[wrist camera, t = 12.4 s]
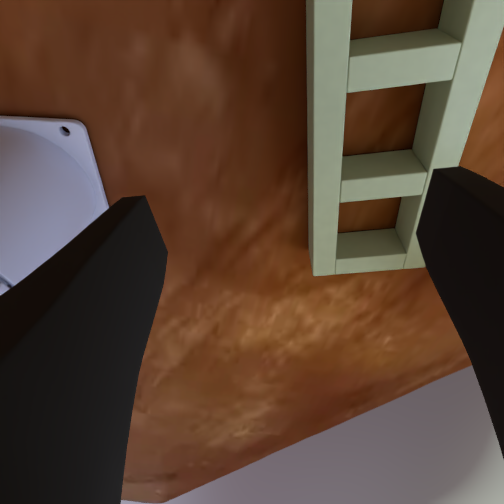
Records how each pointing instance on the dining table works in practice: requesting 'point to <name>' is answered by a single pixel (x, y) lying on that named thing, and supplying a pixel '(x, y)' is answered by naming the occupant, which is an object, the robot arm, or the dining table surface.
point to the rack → (394, 162)
